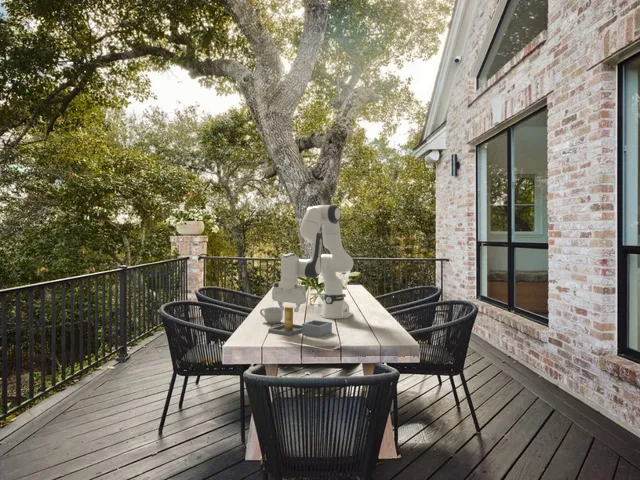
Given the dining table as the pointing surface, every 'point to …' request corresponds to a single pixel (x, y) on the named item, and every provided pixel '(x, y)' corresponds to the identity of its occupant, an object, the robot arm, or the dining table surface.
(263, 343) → the dining table surface
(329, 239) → the robot arm
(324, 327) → the grey open box
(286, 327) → the peg
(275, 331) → the tray
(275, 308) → the teacup
